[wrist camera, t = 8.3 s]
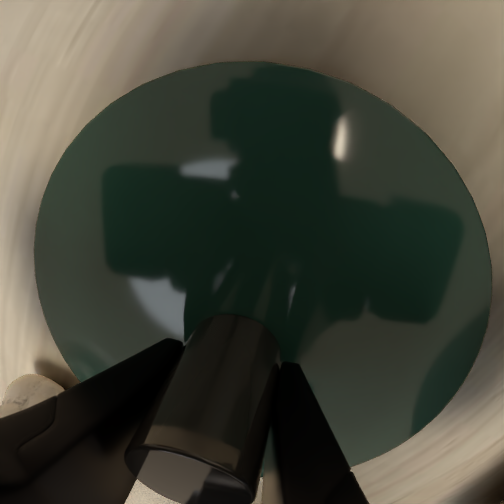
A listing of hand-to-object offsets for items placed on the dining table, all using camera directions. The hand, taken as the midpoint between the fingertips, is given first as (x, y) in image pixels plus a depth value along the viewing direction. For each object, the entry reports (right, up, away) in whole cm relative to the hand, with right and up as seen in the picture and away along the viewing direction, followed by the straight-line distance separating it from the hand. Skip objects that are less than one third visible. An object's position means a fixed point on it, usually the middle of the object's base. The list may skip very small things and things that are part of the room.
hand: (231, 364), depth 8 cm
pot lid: (0, 0, +1) cm, 1 cm away
